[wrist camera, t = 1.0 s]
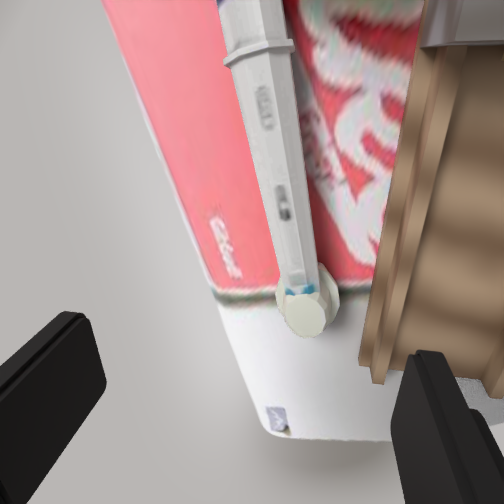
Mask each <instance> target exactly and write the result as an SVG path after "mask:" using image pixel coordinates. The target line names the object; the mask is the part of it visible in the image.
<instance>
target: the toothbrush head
mask: <svg viewBox="0 0 504 504" xmlns="http://www.w3.org/2000/svg"><path fill="white" fill-rule="evenodd" d="M216 1H217V6H218V11H219V15H220V20H221V25H222V30H223V35H224V39H225V44H226V49H227V54H228V56H227V57H225V58H224V59H223V63H224V66H226V67H228V68H230V69H231V72H232V76H233V80H234V84H235V88H236V93H237V97H238V101H239V105H240V109H241V113H242V117H243V121H244V126H245V130H246V134H247V138H248V142H249V146H250V150H251V154H252V159H253V163H254V167H255V171H256V175H257V179H258V183H259V187H260V192H261V196H262V200H263V204H264V208H265V212H266V216H267V220H268V225H269V229H270V233H271V237H272V241H273V245H274V249H275V253H276V258H277V262H278V266H279V270H280V274H281V275H280V279H279V282H278V285H277V289H276V292H275V295H276V300H277V305H278V310H279V312H280V313H281V314H282V315H283V317H284V319H285V322H286V324H287V325H288V327H289V328H290V329H291V330H292V332H293V333H294V334H296V335H298V336H300V337H302V338H314V337H315V336H317V335H318V334H320V333H321V332H322V331H324V330H325V328H326V326H327V325H329V324H330V323H332V322H333V321H334V319H335V316H336V314H337V311H338V309H339V306H340V301H339V294H338V287H337V283H336V282H335V280H334V279H333V276H331V274H330V273H329V271H328V270H327V269H326V267H325V266H324V264H322V263H320V262H318V261H317V254H316V247H315V239H314V231H313V224H312V216H311V208H310V200H309V193H308V185H307V177H306V170H305V162H304V154H303V146H302V139H301V131H300V123H299V116H298V108H297V100H296V92H295V85H294V77H293V69H292V62H291V53H293V52H295V51H296V50H295V45H294V42H293V39H288V34H287V28H286V21H285V15H284V8H283V2H282V0H216Z"/></svg>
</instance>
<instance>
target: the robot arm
mask: <svg viewBox="0 0 504 504" xmlns="http://www.w3.org/2000/svg"><path fill="white" fill-rule="evenodd" d="M106 383H107V381H106V377H105V373H104V370H103V366H102V363H101V359H100V355H99V352H98V348H97V345H96V341H95V337H94V334H93V331H92V327H91V323H90V321H89V319H87V318H86V316H85V315H84V314H83V313H77V312H68V311H64V312H61V313H60V314H58V315H57V316H56V317H55V318H54V319H53V320H52V321H51V322H49V323H48V324H47V325H46V326H45V327H44V328H43V329H42V330H41V331H39V332H38V333H37V334H36V335H35V336H34V337H33V338H32V339H30V340H29V341H28V342H27V343H26V344H25V345H24V346H23V347H21V348H20V349H19V350H18V351H17V352H16V353H15V354H13V355H12V356H11V357H10V358H9V359H8V360H7V361H6V362H5V363H3V364H2V365H1V366H0V504H26V503H27V502H28V501H29V500H30V498H31V497H32V495H33V494H34V492H35V491H36V490H37V488H38V487H39V485H40V484H41V482H42V481H43V480H44V478H45V477H46V475H47V474H48V472H49V471H50V469H51V468H52V467H53V465H54V464H55V462H56V461H57V459H58V458H59V456H60V455H61V453H62V452H63V451H64V449H65V448H66V446H67V445H68V443H69V442H70V441H71V439H72V438H73V436H74V434H75V433H76V432H77V430H78V429H79V427H80V426H81V425H82V423H83V422H84V420H85V419H86V418H87V416H88V415H89V413H90V412H91V410H92V409H93V407H94V406H95V405H96V403H97V402H98V400H99V399H100V397H101V396H102V394H103V393H104V391H105V389H106ZM391 437H392V442H393V446H394V451H395V456H396V461H397V465H398V470H399V475H400V480H401V485H402V489H403V494H404V499H405V504H504V457H503V455H502V453H501V451H500V449H499V447H498V445H497V443H496V441H495V439H494V437H493V435H492V433H491V431H490V429H489V427H488V425H487V423H486V421H485V419H484V417H483V416H482V414H481V413H480V412H479V411H478V410H475V409H469V407H468V405H467V403H466V401H465V399H464V397H463V394H462V392H461V390H460V388H459V386H458V384H457V382H456V379H455V377H454V375H453V373H452V371H451V369H450V367H449V364H448V362H447V360H446V358H445V356H444V354H443V353H442V352H438V351H429V350H417V351H416V353H415V355H414V354H409V355H408V358H407V362H406V365H405V369H404V373H403V377H402V381H401V385H400V388H399V392H398V396H397V400H396V404H395V407H394V411H393V415H392V419H391Z"/></svg>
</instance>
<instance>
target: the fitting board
mask: <svg viewBox="0 0 504 504" xmlns="http://www.w3.org/2000/svg"><path fill="white" fill-rule="evenodd" d="M417 350H429V351H438V352H442V353H443V354H444V356H445V358H446V360H447V362H448V364H449V367H450V369H451V371H452V373H453V375H454V377H462V378H470V379H479V380H481V382H482V384H483V386H484V388H485V390H486V392H487V394H488V395H489V397H490V398H496V399H502V398H503V396H504V0H424V6H423V11H422V16H421V22H420V27H419V33H418V38H417V43H416V49H415V54H414V60H413V65H412V70H411V76H410V81H409V87H408V92H407V97H406V103H405V108H404V114H403V119H402V124H401V130H400V135H399V141H398V146H397V151H396V157H395V162H394V168H393V173H392V178H391V184H390V189H389V195H388V200H387V205H386V211H385V216H384V222H383V227H382V232H381V238H380V243H379V249H378V254H377V259H376V265H375V270H374V276H373V281H372V286H371V292H370V297H369V303H368V308H367V313H366V319H365V324H364V330H363V335H362V340H361V346H360V351H359V357H358V360H359V366H366V367H370V371H371V377H372V383H373V384H382V385H384V382H385V378H386V374H387V370H388V369H392V370H401V371H404V369H405V365H406V362H407V358H408V355H409V354H414V355H415V353H416V351H417Z"/></svg>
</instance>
